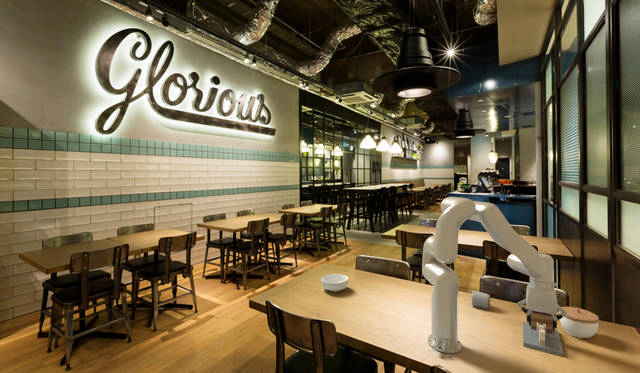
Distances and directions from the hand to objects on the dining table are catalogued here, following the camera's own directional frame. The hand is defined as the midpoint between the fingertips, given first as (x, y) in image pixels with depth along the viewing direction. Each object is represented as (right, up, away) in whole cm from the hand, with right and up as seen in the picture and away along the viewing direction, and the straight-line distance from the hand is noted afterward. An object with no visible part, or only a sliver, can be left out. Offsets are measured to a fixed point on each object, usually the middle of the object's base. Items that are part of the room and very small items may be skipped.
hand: (541, 326), depth 116 cm
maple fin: (0, -4, 0) cm, 4 cm away
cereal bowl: (-82, -6, +57) cm, 100 cm away
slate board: (0, -5, 0) cm, 5 cm away
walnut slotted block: (0, -1, 0) cm, 1 cm away
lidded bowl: (+18, -5, +3) cm, 19 cm away
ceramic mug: (-7, -5, +32) cm, 33 cm away
